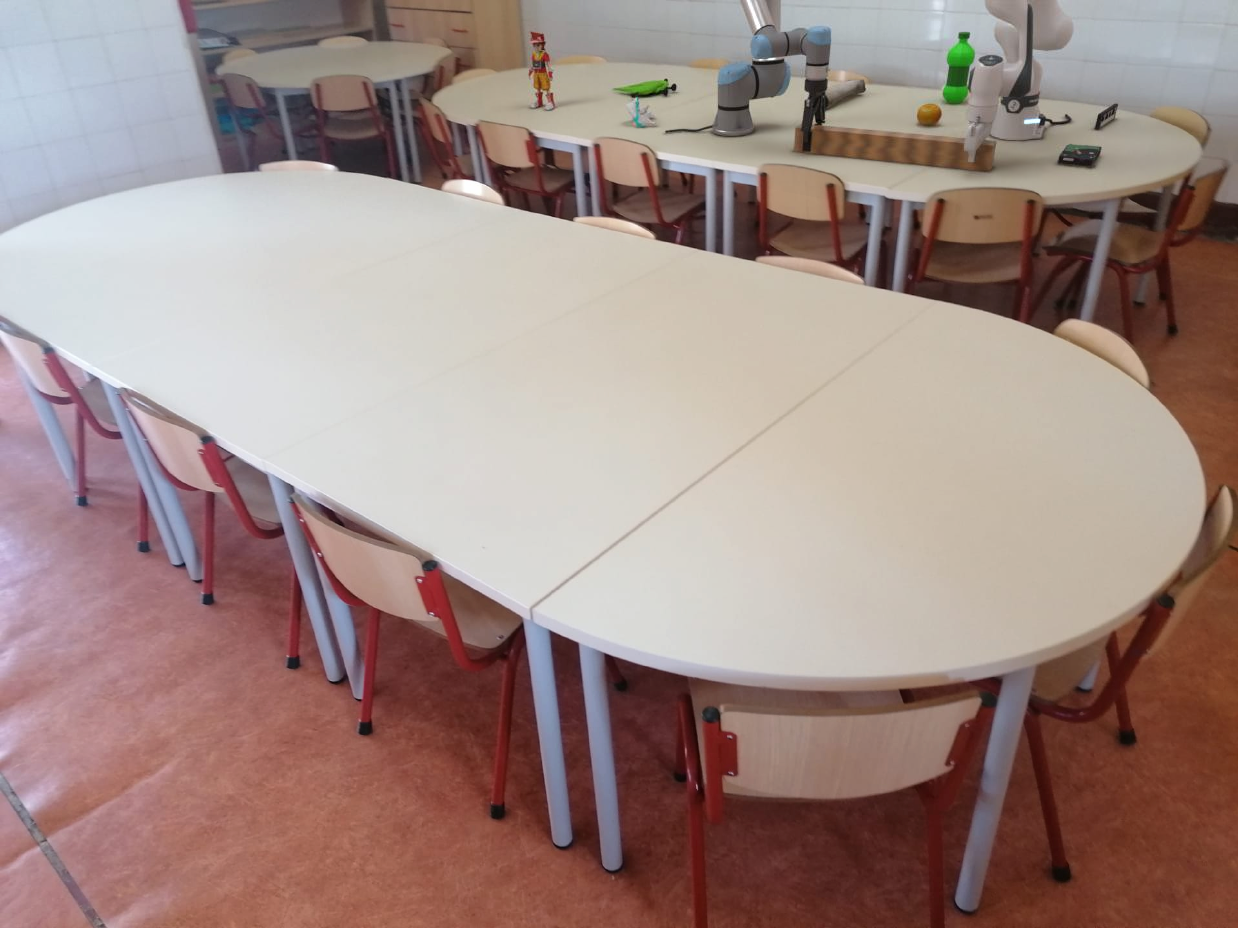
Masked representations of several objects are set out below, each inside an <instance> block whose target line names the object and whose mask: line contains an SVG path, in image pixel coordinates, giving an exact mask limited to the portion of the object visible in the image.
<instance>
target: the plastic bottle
mask: <svg viewBox="0 0 1238 928" xmlns="http://www.w3.org/2000/svg"><path fill="white" fill-rule="evenodd" d="M970 36H971V32H970V31H959V32H958V36H957V39H958V42H957V43H956V44H954V45H953V46H952V47H951V48H950V49H949V50H948V52H947V54H946V63H947V64H948V69H947V70H948V71H947V76H946V77H947V78H946V84H945V85H944V87H943V90H942V97H943V99H944V100H945V101H946V102H947V103H948V104H960V103H961V102H963V101H964V100H966V98H967V96H968V95H969V90H968V81H969V75H970V67H971V65H972V64H973V63H974V61H975V57H976V51H975V49H974V47H972V45H971V44H970V43H969V42H968V41H969V39H970V38H971V37H970Z"/></svg>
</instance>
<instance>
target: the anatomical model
mask: <svg viewBox="0 0 1238 928" xmlns="http://www.w3.org/2000/svg"><path fill="white" fill-rule="evenodd" d="M625 106H626V109H627V113H628V114H629V116H631V118H632V120H633V121H634V123H635V125H636V126H637V127H639V128H644V127H645V126H655V125H657V121H652V120H651V119H654V117H655V114H654V113H652V111H648V109H649V108H650V105H645V106H644V107H642V108H640V100H639V98H638V97H634V98H633V100H632V101H631V102H628V103H626V105H625Z"/></svg>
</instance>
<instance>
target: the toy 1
mask: <svg viewBox="0 0 1238 928" xmlns="http://www.w3.org/2000/svg"><path fill="white" fill-rule="evenodd" d="M529 33H530V35H531V36H528V37H527V38H528V39H529V40H528V41H527V43H529V44H530V43H531V44H532V48H533V50H534V51H533V52H532V55H531V58H530V59H531V63H530V66H528V74H527V75H528V76H527V77H528V79H529V80H531V75H532V74H533V84H532V85H533V86H532V87H533V88H534V89H535V90H536V92H534V95H535V97H536V100H535V101H533V102H531V105H530V108H531V109H535V108H538V107H542V106H544V101H543V100H544V99H543V95H544V92H546V94H545V97H546V99H547V103H546V104H545V106H544V110H546V111H549V110H553V109H554V107H555V106H556V105H555V99H554V92H551V91H550V90H551V86H552V84H551V82H552V81H553V80H554V77H553V73H554V71H555V70H554V69H552V68H551V63H550V61H551V59H550V58H551V57H550V54H549V53H548V52H547V50H546V48H545V46H546V44H547V41H545V35H544V33H543V32H542V33H539V32H535V31H529Z"/></svg>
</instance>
